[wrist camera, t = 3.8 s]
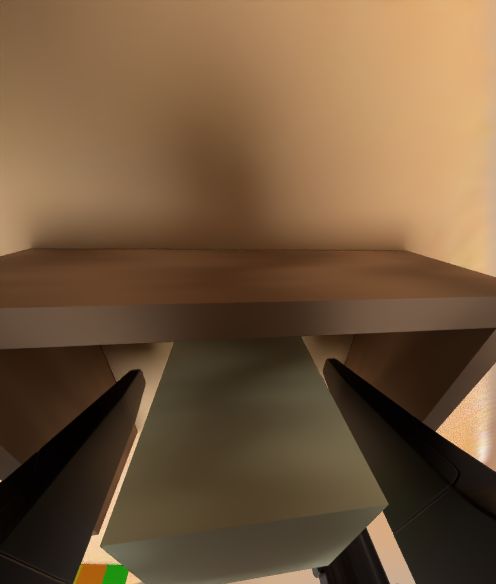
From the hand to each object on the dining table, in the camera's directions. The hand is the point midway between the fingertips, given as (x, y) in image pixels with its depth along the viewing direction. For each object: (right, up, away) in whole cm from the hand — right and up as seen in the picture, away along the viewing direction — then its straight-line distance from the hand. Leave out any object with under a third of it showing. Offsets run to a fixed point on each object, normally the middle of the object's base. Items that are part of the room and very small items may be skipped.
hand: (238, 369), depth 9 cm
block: (0, +1, +1) cm, 2 cm away
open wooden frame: (0, 0, +2) cm, 2 cm away
